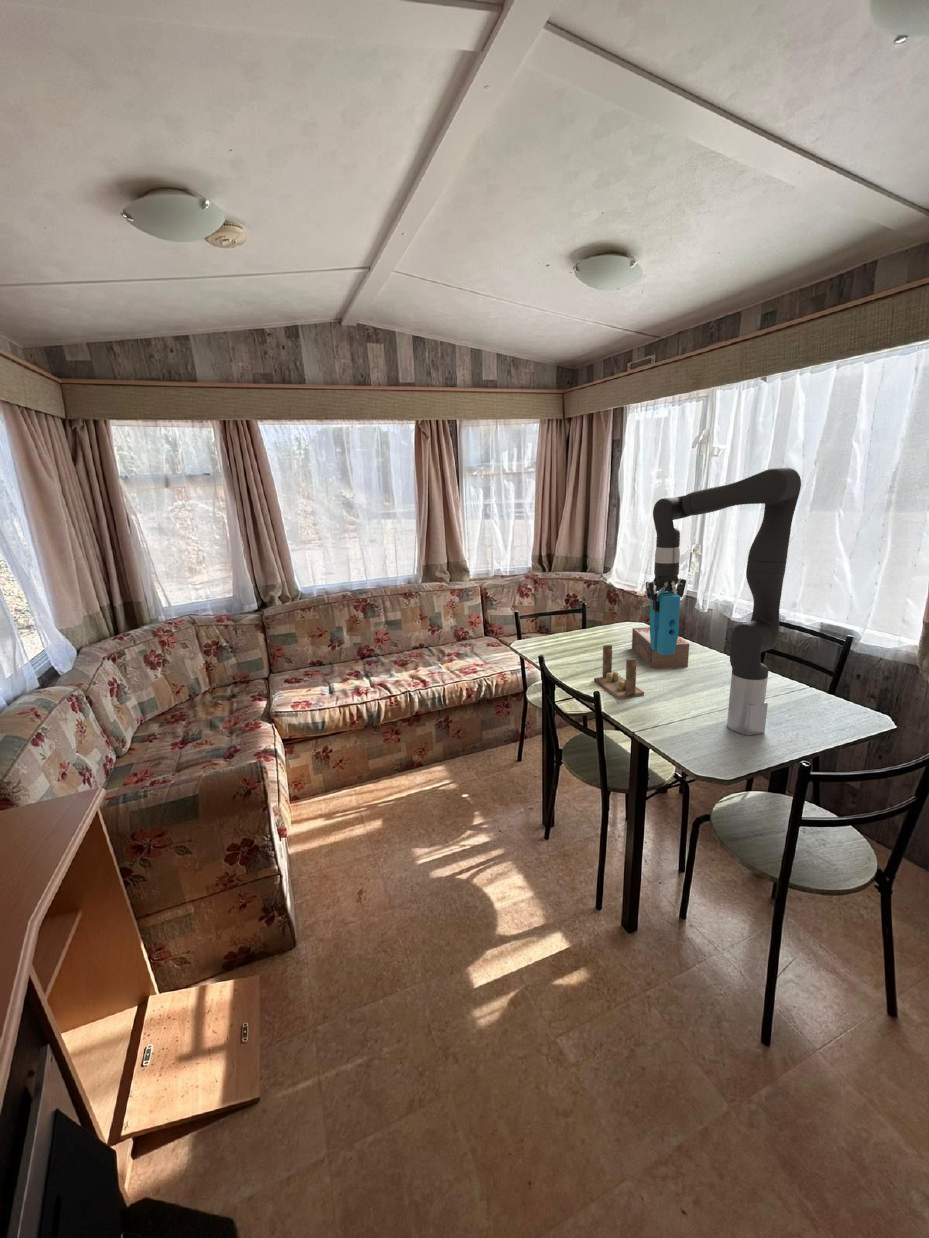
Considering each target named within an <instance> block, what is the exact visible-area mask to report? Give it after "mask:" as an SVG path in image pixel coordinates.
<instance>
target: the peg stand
mask: <svg viewBox="0 0 929 1238" xmlns="http://www.w3.org/2000/svg"><path fill="white" fill-rule="evenodd" d="M625 660H626V664H625V666H626V667H625V678H624V677H622V676H620V673H619V672H618V671H612V668H613V666H612V665H613V645H612V644H604V645H602V676H600V677H594V678H593V681H594V682H595V683H596V684H598V685H599V686H600V687H601V688H603V689H604V690H606V692H608V693H610V694H611V695H612V696H614V697H615V698H617V699H618V700H621V699H628V698H634V697H635V698H636V697H640V696H645V691H644V690H642V689H640V688H639V687H637V686H636V684H637V682H636V681H637V663H638V662H637V661H638V660H637V658H635V657H632V658H631V657H630V658H626V659H625Z"/></svg>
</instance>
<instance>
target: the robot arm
mask: <svg viewBox="0 0 929 1238" xmlns="http://www.w3.org/2000/svg"><path fill="white" fill-rule="evenodd" d="M801 487H802V479H801V476H800V473H799V472H798V471H796V469H794V468H791V467H772V468H770V467H769V468H767V469H764V470H763V471H760V472H758V473H755V474H753V475H751V476H748V477H747V478H744V479H741V480H739V481H736V482H732V483H728V484H724V485H717V486H714V487H709V488H703V489H701V490H696V491H693V492H689V493H686V495H681V496H675V497H663V498H660V499H658V500H657V501H656V502H655V504H654V506H653V508H652V519H653V523H654V529H655V531H656V539H655V540H656V541H655V542H656V543H655V544H656V545H655V551H654V553H655V554H654V569H653V573H654V578H653V580H652V581H646V582H644V583H645V591H646V598H647V599H648V600H650V601H651V600H652V601H653V608H652V609H653V610H654V612H659V606H660V602H659V600H660V595H663V593H664V592H666V591H668V592H671V593H674V594H677V595H679V596H680V598H682V597H684V593H685V589H686V584H687V579H685V578H679V577H678V576H679V573H680V562H681V561H680V559H681V550H680V548H681V547H680V546H681V545H680V544H681V543H680V542H681V531H680V529H678V528H676V527H675V526H674V525H675V524H674V520H680V519H685V518H687V517H691V516H699V515H705V514H708V513H712V512H713V513H714V512H718V511H721V510H723V509H727V508H730V507H735V506H742V505H758V504H759V505H761V504H764V511H763V518H762V522H761V524H760V527H759V529H758V530H757V531H758V532H757V533H756V535H755V538H754V540H753V541H752V543H751V546H750V549H749V552H748V557H747V560H746V561H747V562H746V571H745V576H746V577H745V578H746V581H747V585H748V587H749V590H750V593H751V596H752V597H753V599H752V600H753V608H752V613H751V615H752V616H751V619H750V621H747V622H743V623H738V624H736V626H734V628H733V629H732V631H731V634H730V635H731V636H730V640H729V641H730V643H729V644H730V645H729V663H730V666H731V677H730V689H729V700H728V708H727V721H726V726H727V727H728V729H730V730H731V731H732V732H736V733H738V734H743V735H745V736H754V735H759V734H764V733H765V731H766V724H767V714H768V705H769V704H768V702H766V697H767V685H768V679H769V667H768V666H767V665H766V664H764V663H762V662H761V661H762V659H761V658H762V657H761V656H762V655H761V654H762V652H767V651H769V650H771V649H773V648H774V647H775V646H776V644H777V642H778V640H779V635H780V634H779V633H780V606H781V599H782V591H783V584H784V578H785V573H786V567H787V561H788V552H789V545H790V538H791V531H792V523H793V518H794V516H795V511H796V507H797V503H798V500H799V496H800V492H801ZM676 585H677V586H676ZM658 591H660V592H658ZM657 594H658V595H657Z"/></svg>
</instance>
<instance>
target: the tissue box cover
mask: <svg viewBox="0 0 929 1238" xmlns="http://www.w3.org/2000/svg"><path fill="white" fill-rule="evenodd" d="M631 635H632V637H631V649H632V650H633V652H634V653H636V654H637V655H638V656H639V657H640V658H641V659H642V660H643V661H644V662H645V664H647V665H648V666H649V667H650V668H651V669H664V668H665V669H667V668H687V667H688V666H689V655H690V643H689V642H688V641H686V640H684V639H683V638H682V637H681V636H679V635H678V639H677V644H676V649H675V653H674V654H668V655H661V654H659V653H657V650H653V649H652V648H651V641H650V626H647V627H632V634H631Z"/></svg>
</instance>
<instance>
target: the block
mask: <svg viewBox="0 0 929 1238" xmlns="http://www.w3.org/2000/svg"><path fill="white" fill-rule="evenodd" d="M658 592H660V591H658ZM657 595H658V594H657ZM659 602H660V606H659V612H654V610H653V609H652V608H653V601H652V600H650V608H649V610H650V612H649V627H650V641H651V648H652V649H653V650H657V653H659V654H661V655H668V654H674V653H675V649H676V644H677V639H678V636H679V630H680V629H679V627H680V626H679V624H680V608H681V597H680V596H679V595H677V594H674V593H671V592H668V591H666V592H664V593H663V595H660V600H659Z"/></svg>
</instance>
